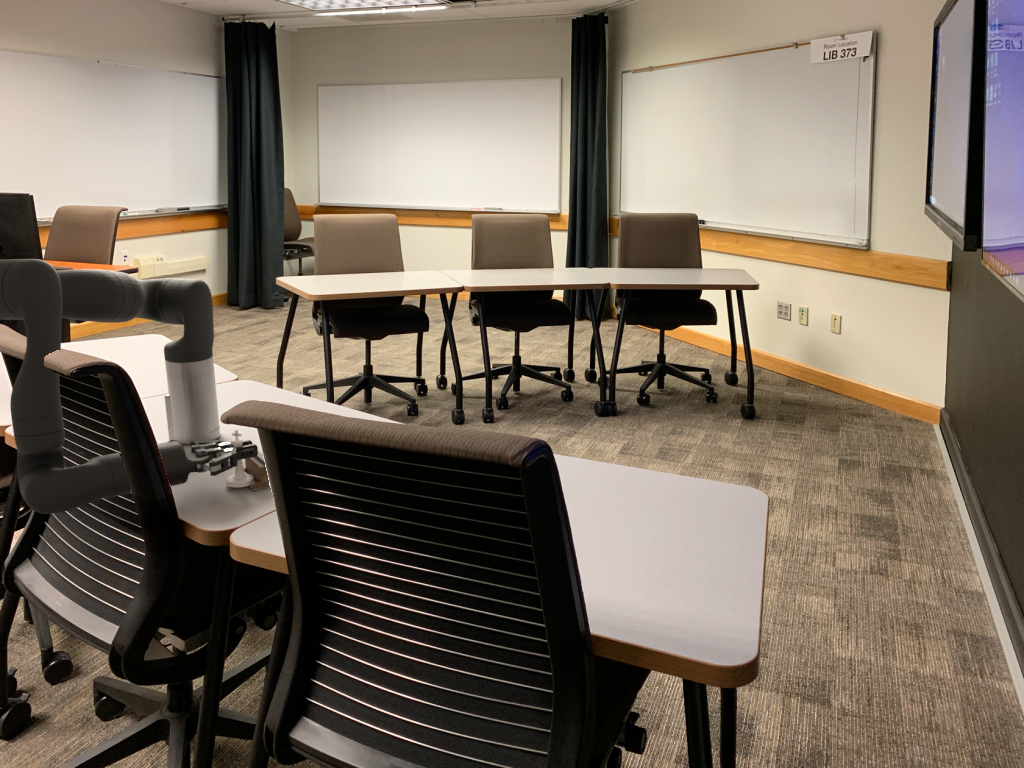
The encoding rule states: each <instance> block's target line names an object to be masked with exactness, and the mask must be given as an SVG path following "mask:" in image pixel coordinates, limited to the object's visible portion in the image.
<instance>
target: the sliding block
mask: <svg viewBox="0 0 1024 768" xmlns="http://www.w3.org/2000/svg"><path fill="white" fill-rule="evenodd" d="M244 465H245V467H243V468H244V472H246V474H250V475H252V476H253V477H254V483H250V485H249V491H256V490H257V491H258V490H261V489H266V487H267V474H266V467H265V465H264V464H263V463H261V462H260V461H259V460H258V459H257V458H255V457H251V458H246V459H244ZM267 488H268V487H267Z"/></svg>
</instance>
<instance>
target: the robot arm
mask: <svg viewBox="0 0 1024 768" xmlns="http://www.w3.org/2000/svg"><path fill="white" fill-rule="evenodd" d="M63 319H68V320H74V321H84V322H93V323H94V322H95V323H112V324H113V323H114V324H115V323H126V322H127V323H128V322H130V321H132V320H134V319H143V320H149V321H154V322H157V323H163V324H166V325H167V324H169V325H181V326H182V325H183V335H182V337H181V338H179V339H175V340H172V341H169V342H167V343H166V344H165V345H164V346H163V347H164V348H163V353H164V354H163V355H164V363H165V370H166V371H165V372H166V380H167V391H168V393H167V394H165V395H164V406H165V414H166V423H167V424H166V425H167V431H168V439H169V440H170V441H166V442H161V443H157V445H158V448H159V452H160V454H161V457H162V461H163V464H164V467H165V470H166V473H167V477H168V480H169V483H170V485H171V486H170V487H174V486H180V485H184V484H185V483H187V482H188V479H189V475H190V474H191V473H199V474H200V473H207V472H209V473H210V475H209V476H211V477H216V476H218V475H221V474H222V473H225V472H226V471H229V470H231V469H233V468H235V467H236V466H237V462H238V460H241V459H242V460H245V459H246V458H251V457H256V456H257V455H258V451H259V450H258V445H257V444H255V443H253V441H252V440H250V439H246V440H243V443H242V446H240V447H236V448H234V447H233V445H232V442H230V441H229V442H228V441H225V442H224V439H218V438H219V437H221V429H220V427H221V426H220V419H219V418H220V417H219V405H218V396H217V388H216V387H217V385H216V374H215V363H214V353H213V350H214V349H213V347H214V341H215V331H214V330H215V328H214V304H213V295H212V291H211V289H210V287H209V285H208V284H207V283H206V282H205V281H204V280H202V279H196V278H181V277H179V278H178V277H165V278H164V277H163V278H162V277H161V278H152V279H137V278H136V277H135V276H133V275H131V274H129V273H126V272H122V271H118V270H116V271H115V270H109V269H99V268H97V269H96V268H82V269H80V268H79V269H78V268H77V269H60V270H56V268H55V267H53V265H52V264H51V263H49V262H48V261H45V260H43V259H39V258H38V259H37V258H16V259H15V258H13V259H0V320H2V321H3V320H4V321H23V323H24V329H25V333H26V349H25V353H24V357H23V360H22V364H21V367H20V369H19V371H18V374H17V376H16V379H15V381H14V385H13V388H12V390H11V394H10V401H9V402H10V405H9V407H10V415H11V424H12V430H13V431H12V432H13V436H14V442H15V446H16V451H17V452H16V457H17V459H16V460H17V461H16V462H17V464H16V466H17V468H16V469H17V479H18V486H19V488H18V489H19V492H20V494H21V497H22V498H23V500H24V501H25V503H26V505H27V507H28V508H30V509H31V510H32V511H34V512H36V513H39V514H43V515H49V514H50V515H54V514H59V513H65V512H68V511H72V510H74V509H77V508H81V507H83V506H86V505H89V504H91V503H93V502H96V501H98V500H102V499H108V498H113V497H119V496H124V495H129V494H133V493H132V491H131V488H130V484H129V479H128V476H127V473H126V470H125V466H124V463H123V461H122V458H121V456H120V454H119V452H114V453H108V454H105V455H99V456H96V457H93V458H91V459H88V461H87V462H86V463H83V464H79V465H78V464H77V465H73V466H69V467H66V465H65V458H64V450H63V446H64V444H65V439H66V438H65V423H64V418H63V409H62V402H61V401H62V400H61V391H60V389H61V388H60V373H59V374H58V373H55V372H53V371H51V370H49V369H47V368H46V367H45V366H44V357H45V356H46V355H48V354H49V353H52V352H54V351H56V350H61V348H62V347H61V346H62V326H63V324H62V323H63ZM183 445H188V447H186V446H185V447H184V446H183Z"/></svg>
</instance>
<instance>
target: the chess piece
mask: <svg viewBox="0 0 1024 768" xmlns="http://www.w3.org/2000/svg"><path fill="white" fill-rule="evenodd" d="M231 436H234V438H233V439H231V442H230V443H232V445H233V447H234V448H236V447H240V446H242V443H243V441H244V439H243V438H240V437H242V436H243V434H242V432H239V429H234V432H231ZM244 468H245V467H244V463H243V459H241V460H238V462H237V466H236V467H234V472H233V473H232V475H229V476H228V477H227V478H226V480H225V481H226V482H225V484H226V486H228V487H230V488H244V487H248V486H249V487H250V483H255V481H254V477H253V476H252V475H250V474H246V472H244Z"/></svg>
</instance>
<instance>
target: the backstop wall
mask: <svg viewBox="0 0 1024 768" xmlns="http://www.w3.org/2000/svg"><path fill="white" fill-rule="evenodd" d="M263 455H264V454H263V453H262V452H261V451H259V450H258V455H257V456H256V457H255V458H257V459H258V460H259V461H260V462H261V463H263V464H264V465H265V462H264V458H263ZM266 474H267V471H266ZM266 488H270V486H269V480H268V475H267V487H266ZM266 488H265V489H266Z"/></svg>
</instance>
